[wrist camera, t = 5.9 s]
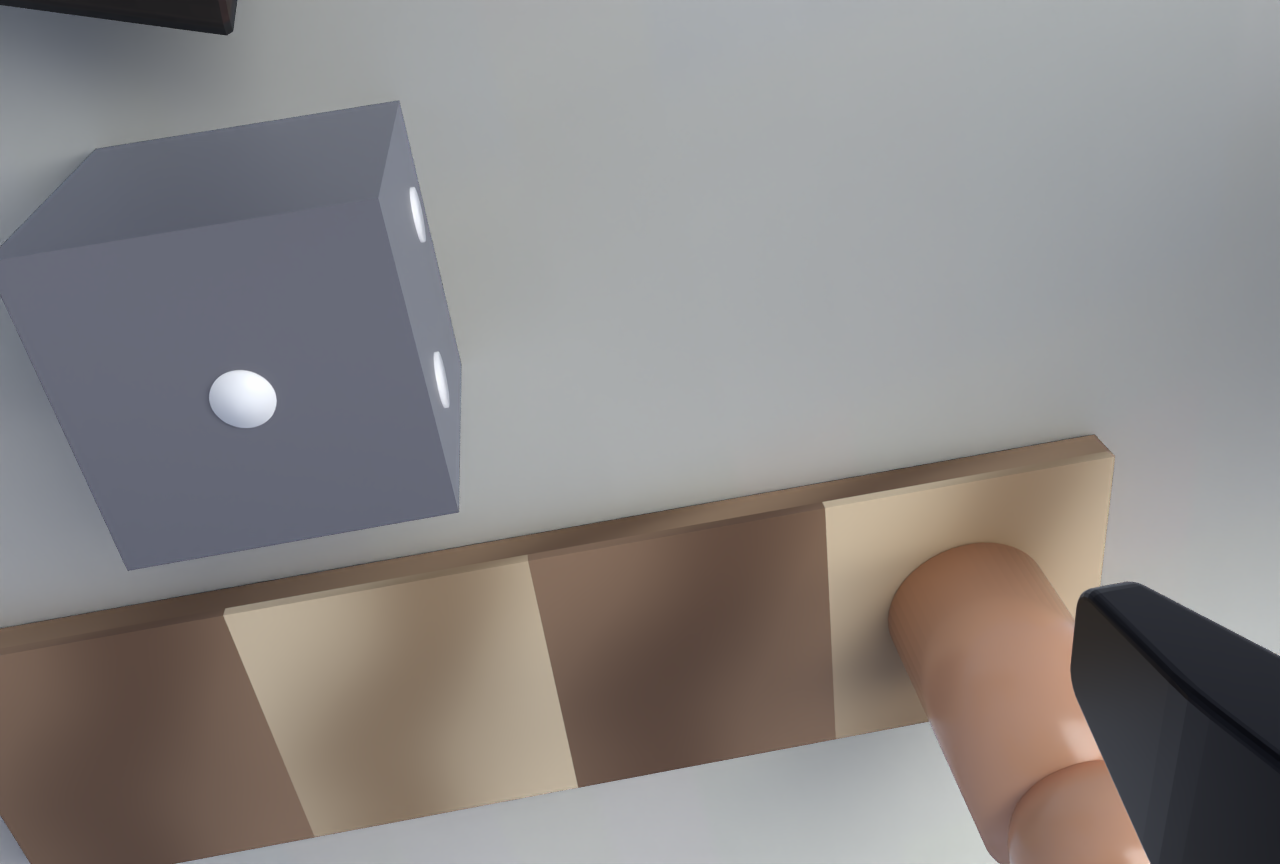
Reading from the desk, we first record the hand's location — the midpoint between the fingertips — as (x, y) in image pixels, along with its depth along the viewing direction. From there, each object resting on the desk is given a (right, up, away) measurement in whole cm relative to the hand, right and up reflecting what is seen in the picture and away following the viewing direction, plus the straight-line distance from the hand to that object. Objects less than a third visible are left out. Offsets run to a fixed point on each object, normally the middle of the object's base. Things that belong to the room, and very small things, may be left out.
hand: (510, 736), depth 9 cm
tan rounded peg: (+7, -1, +14) cm, 16 cm away
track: (-1, -2, +14) cm, 14 cm away
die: (-5, +5, +9) cm, 12 cm away
